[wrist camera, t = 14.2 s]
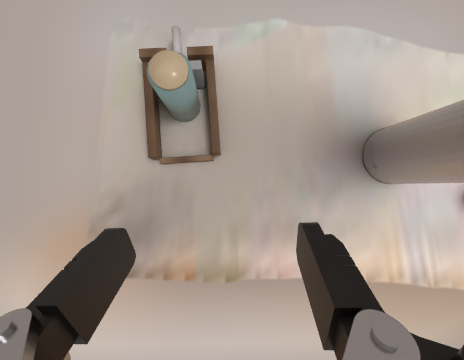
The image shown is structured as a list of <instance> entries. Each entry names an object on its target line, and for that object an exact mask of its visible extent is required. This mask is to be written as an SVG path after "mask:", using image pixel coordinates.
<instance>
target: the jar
mask: <svg viewBox="0 0 464 360" xmlns="http://www.w3.org/2000/svg"><path fill="white" fill-rule="evenodd" d="M147 77H148V80H149V82H150V84H151V85H152V87H153V88H154V90H155V91H156V93H157V94H158V96H159V97H160V99H161V100H162V102H163V103H164V105H165V106H166V108H167V109H168V111H169V112H170V114H171V115H172V116H173V117H174V118H175V119H176V120H178V121H182V122H188V121H191V120H193V119H195V118H196V117H197V115H198V114H199V112H200V101H199V96H198V92H197V88H196V84H195V79H194V75H193V71H192V67H191V64H190V62H189V60H188V59H187V58H186V57H185V56H184V55H183V54H181V53H179V52H177V51H172V50H164V51H160V52H158V53H157V54H155V55H154V56H153V57H152V58H151V60H150V61H149V63H148V66H147Z"/></svg>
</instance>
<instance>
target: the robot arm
mask: <svg viewBox="0 0 464 360" xmlns="http://www.w3.org/2000/svg"><path fill="white" fill-rule="evenodd" d="M363 159H364V164H365V166H366V169H367V170H368V172H369V173H370V174H371V175H372V176H373V177H374V178H375V179H377V180H378V181H380V182H383V183H388V184H410V183H412V184H415V183H464V100H462V101H459V102H456V103H453V104H451V105H448V106H445V107H442V108H440V109H437V110H434V111H431V112H428V113H426V114H423V115H420V116H417V117H415V118H412V119H409V120H406V121H403V122H400V123H398V124H395V125H392V126H389V127H387V128H384V129H381V130H379V131H377V132H375V133H374V134H373V135H371V136H370V138H369V139H368V140H367V142H366V144H365V146H364V151H363ZM296 253H297V260H298V264H299V268H300V271H301V275H302V278H303V281H304V285H305V288H306V291H307V295H308V298H309V302H310V305H311V308H312V312H313V315H314V318H315V322H316V325H317V328H318V332H319V335H320V339H321V342H322V346H323V349H324V350H334V352H335V355H336V358H337V360H464V345H463V347H462V348H461V349H460V350H459V349H456V348H452V347H449V346H446V345H443V344H440V343H437V342H434V341H431V340H427V339H424V338H422V337H419V336H416V335H414V334H412V333H410V332H409V331H408V330H407V329H406V328H405V327H404V326H403V325H402V324H401V323H400V322H398V321H397V320H396V319H394V318H393V317H391V316H389V315H388V314H386V313H385V312H384V311H383V309H382V308H381V306H380V305H379V303H378V301H377V300H376V298H375V296H374V295H373V293H372V291H371V290H370V288H369V286H368V285H367V283H366V281H365V280H364V278H363V276H362V275H361V273H360V271H359V270H358V268H357V267H356V266H355V263H354V261H353V260H352V258H351V257H350V255H349V253H348V251H347V250H346V248H345V246H344V245H343V243H342V242H341V241H339V240H338V239H337V238H336V237H335V236H334V235H332V234H326V235H324V233H323V231H322V229H321V227H320V225H319V224H318V223H317V222H313V223H299V225H298V236H297V247H296ZM135 258H136V253H135V250H134V247H133V245H132V243H131V240H130V238H129V235H128V233H127V231H126V229H124V228H108V229H105V230H104V231H103V232H102V233H101V234H100V235H99V236H98V237H97V238H96V239H95V240H94V241H92V242H91V243H89V244H88V245H87V246H85V247H84V248H82V249H81V250H80V251H79V253H77V255H76V256H75V257H74V258H73V259H72V261H70V262H69V263H68V264H67V265H66V266H65V267H64V270H61V271H60V273H59V274H58V275H57V276H56V277H55V278H54V279H53V280H52V281H51V282H50V283H49V284H48V285H47V286H46V287H45V288H44V290H43V291H42V292H41V293H40V294H39V295H38V296H37V297H36V298H35V299H34V300H33V301H32V302H31V303H30V304H29V306H27V307H26V308H24V309H17V310H14V311H11V312H9V313H7V314H5V315H3V316H1V317H0V360H70V354H69V352H68V351H69V350H70V348H71V347H72V345H73V344H88V342H89V340H90V338H91V337H92V335H93V333H94V331H95V330H96V328H97V326H98V325H99V323H100V321H101V319H102V318H103V316H104V314H105V313H106V311H107V309H108V308H109V306H110V304H111V302H112V301H113V299H114V297H115V295H116V294H117V292H118V291H119V289H120V287H121V285H122V284H123V282H124V280H125V279H126V277H127V275H128V273H129V272H130V270H131V268H132V267H133V265H134V262H135Z"/></svg>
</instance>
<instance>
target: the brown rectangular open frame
mask: <svg viewBox="0 0 464 360" xmlns="http://www.w3.org/2000/svg"><path fill="white" fill-rule="evenodd" d="M164 50H166V48H149V49H139V57H140V59H141V61H142V62H143V78H144V95H145V111H146V127H147V144H148V157H149V158H152V159H154V160H156V159H160V163H161V164H172V163H187V162H202V161H213V156H216V155H221V153H220V139H219V125H218V112H217V98H216V84H215V70H214V56H213V46H200V47H187V56H188V60H189V61H195V60H201V63H202V69H206V72H207V86H208V100H209V114H210V128H211V142H212V154H213V155H201V156H185V157H170V158H162V150H161V134H160V119H159V103H158V94H157V93H156V91H155V90H154V88H153V87H152V85H151V84H150V82H149V80H148V77H147V66H148V62H149V61H150V60H151V58H152V57H153V56H154V55H155V54H157V53H158V52H160V51H164Z"/></svg>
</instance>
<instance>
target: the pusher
mask: <svg viewBox="0 0 464 360" xmlns="http://www.w3.org/2000/svg"><path fill="white" fill-rule="evenodd" d="M172 41H173V51H177V52H179V53H181V54H182V50H181V35H180V28H179V27H177V26H173V27H172ZM189 62H190V64H191V67H192V71H193V75H194V79H195V84H196V88H205V80H204V74H203V69H202V63H201V60H195V61H189ZM148 63H149V62H148Z"/></svg>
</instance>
